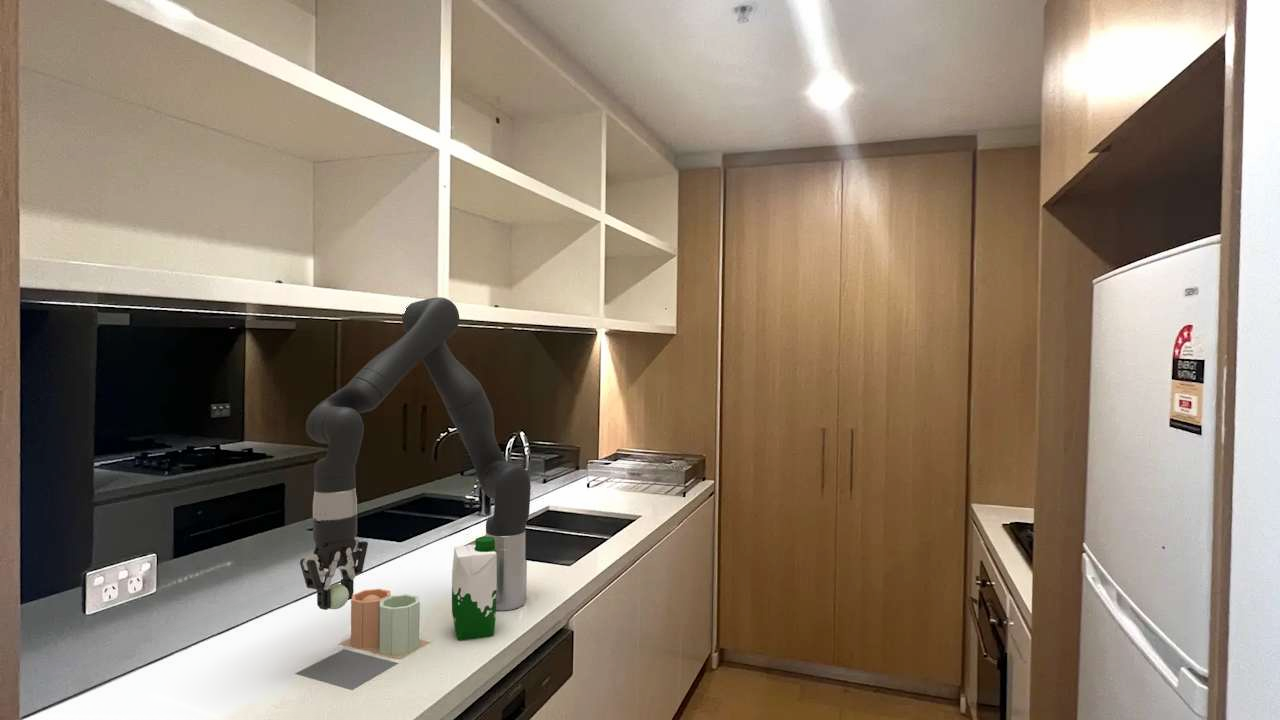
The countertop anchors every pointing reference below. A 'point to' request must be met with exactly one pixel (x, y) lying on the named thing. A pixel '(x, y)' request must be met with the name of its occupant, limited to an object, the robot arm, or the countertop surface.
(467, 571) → the milk carton
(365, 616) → the tubes
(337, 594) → the ball sage
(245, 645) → the countertop surface
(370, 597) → the ball rust
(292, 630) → the countertop surface
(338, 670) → the mat
